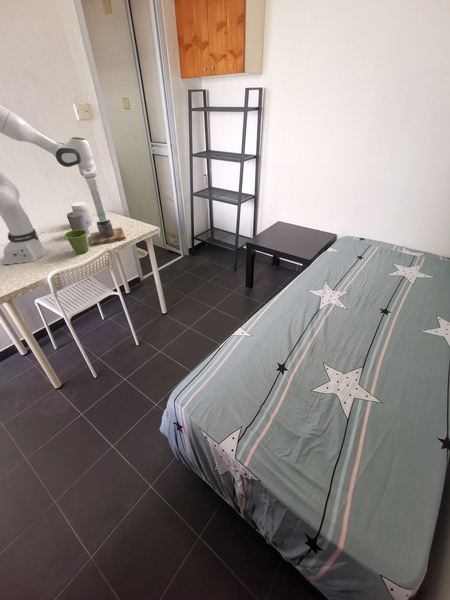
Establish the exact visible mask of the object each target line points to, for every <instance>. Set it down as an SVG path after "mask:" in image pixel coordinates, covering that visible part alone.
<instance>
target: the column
mask: <svg viewBox="0 0 450 600" xmlns="http://www.w3.org/2000/svg"><path fill="white" fill-rule="evenodd" d="M90 194H91V197H92V201H93V204H94V207H95V210H96V215H97V218H98V221H100V222H106V221H107V220H108V219H107V217H106V213H105V210H104V208H103V202H102V200H101V197H100V193H99V190H98V191H97V196H98V198H97V199H95V197H94V195H93V192H91V191H90Z"/></svg>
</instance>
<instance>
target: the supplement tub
mask: <svg viewBox="0 0 450 600" xmlns="http://www.w3.org/2000/svg"><path fill="white" fill-rule="evenodd" d="M70 206H71V209H72V212H75V211H81V212H83V215H84V218H85V221H86V223H87V227H89V226H91V225H92V223H93V222H92V221H93V220H92V218H91V215H90V212H89V209H88V205H87V203H86V202H85V201H77V202H73V203H72V204H71V205H70Z"/></svg>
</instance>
